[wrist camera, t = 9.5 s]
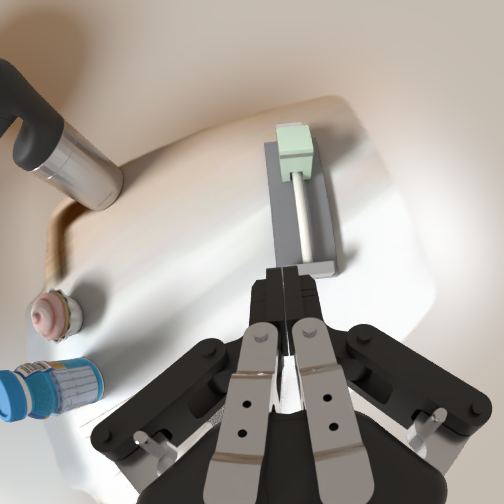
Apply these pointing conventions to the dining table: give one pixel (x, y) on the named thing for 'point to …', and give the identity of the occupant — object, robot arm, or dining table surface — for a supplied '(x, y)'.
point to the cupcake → (56, 316)
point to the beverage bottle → (49, 388)
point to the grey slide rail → (301, 216)
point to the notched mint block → (295, 151)
